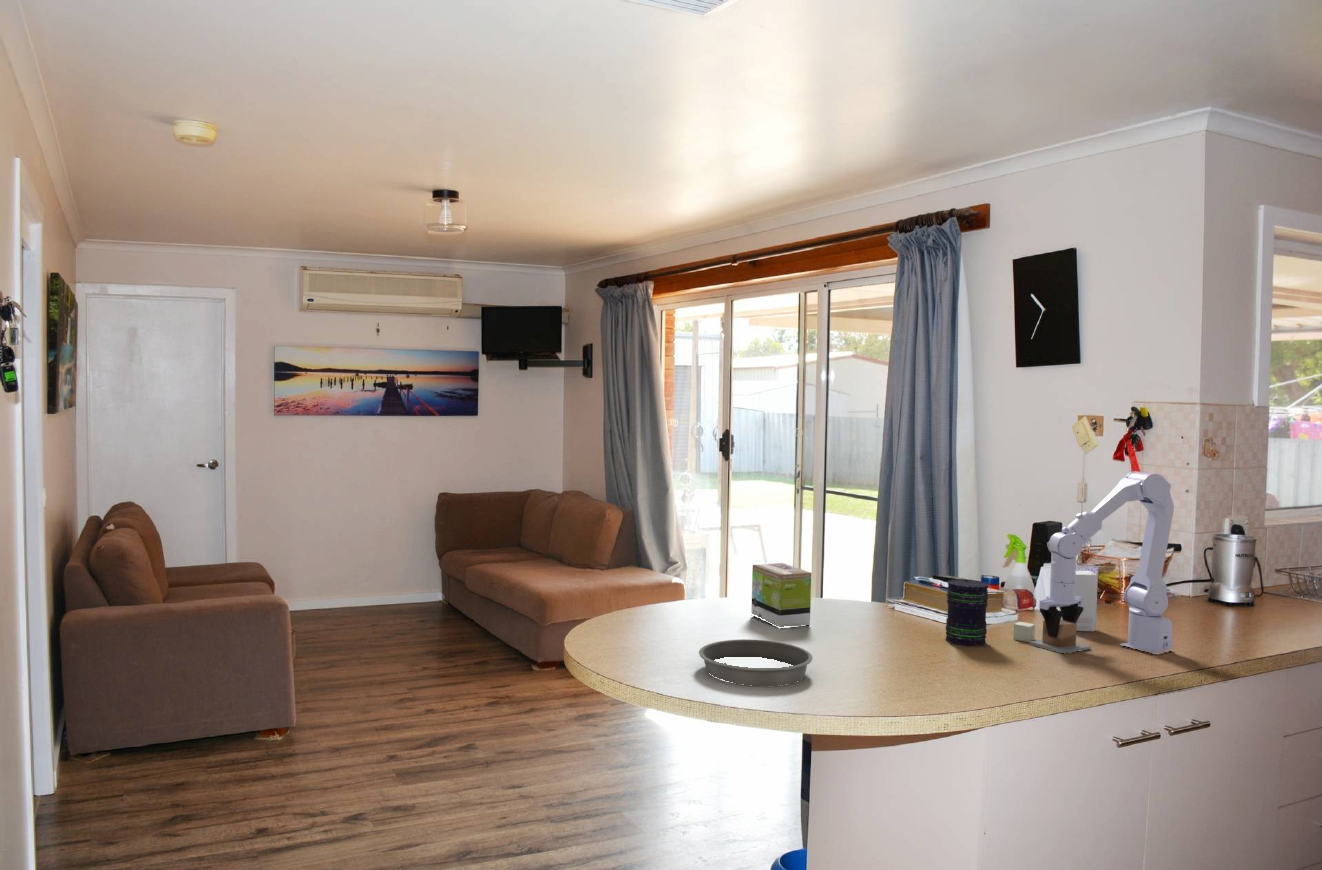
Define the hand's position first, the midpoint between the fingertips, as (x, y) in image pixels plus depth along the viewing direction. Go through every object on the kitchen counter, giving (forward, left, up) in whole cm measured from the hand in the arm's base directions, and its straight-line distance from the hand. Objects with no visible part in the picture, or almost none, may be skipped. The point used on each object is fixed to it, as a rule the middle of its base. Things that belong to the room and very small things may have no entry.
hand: (1060, 635), depth 236 cm
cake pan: (+15, +83, -3) cm, 84 cm away
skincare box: (+11, -22, -3) cm, 25 cm away
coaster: (0, 0, -3) cm, 3 cm away
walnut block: (0, 0, -2) cm, 2 cm away
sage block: (+9, +2, -3) cm, 10 cm away
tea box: (+51, +48, -3) cm, 70 cm away
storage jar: (+14, +18, -3) cm, 23 cm away
